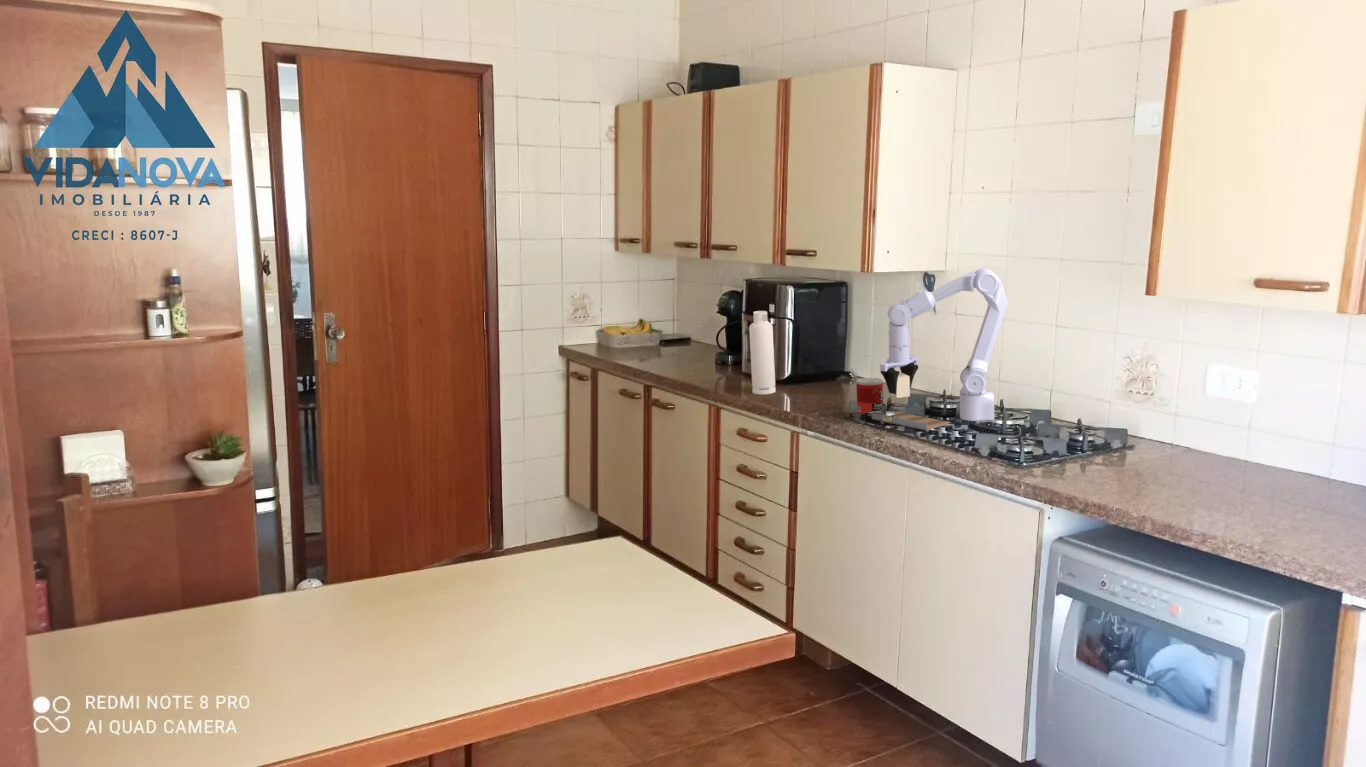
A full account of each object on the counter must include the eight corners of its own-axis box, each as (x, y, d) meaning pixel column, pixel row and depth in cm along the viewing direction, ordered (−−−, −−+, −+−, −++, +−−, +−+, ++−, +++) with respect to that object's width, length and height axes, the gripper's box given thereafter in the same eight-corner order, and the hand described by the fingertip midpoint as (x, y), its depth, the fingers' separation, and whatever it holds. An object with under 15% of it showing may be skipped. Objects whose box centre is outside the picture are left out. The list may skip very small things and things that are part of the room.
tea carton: (909, 396, 272) (909, 376, 271) (896, 397, 271) (895, 377, 270) (902, 392, 277) (902, 372, 276) (889, 394, 276) (888, 374, 275)
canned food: (876, 419, 282) (875, 384, 279) (852, 417, 287) (851, 381, 284) (887, 413, 288) (887, 378, 285) (864, 411, 292) (863, 376, 290)
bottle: (764, 395, 322) (760, 314, 316) (747, 392, 328) (743, 312, 322) (780, 390, 327) (777, 311, 321) (763, 388, 333) (759, 309, 327)
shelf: (951, 427, 268) (951, 416, 268) (926, 435, 262) (926, 424, 261) (896, 416, 284) (896, 405, 283) (871, 424, 278) (871, 413, 277)
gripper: (904, 340, 278) (905, 384, 281) (871, 347, 270) (872, 393, 273) (923, 342, 273) (924, 388, 276) (890, 350, 264) (891, 397, 267)
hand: (899, 391), depth 274 cm, fingers closed on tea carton, 6 cm apart
